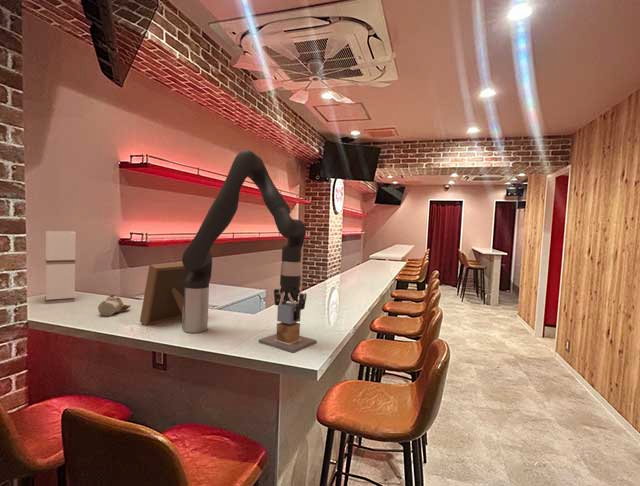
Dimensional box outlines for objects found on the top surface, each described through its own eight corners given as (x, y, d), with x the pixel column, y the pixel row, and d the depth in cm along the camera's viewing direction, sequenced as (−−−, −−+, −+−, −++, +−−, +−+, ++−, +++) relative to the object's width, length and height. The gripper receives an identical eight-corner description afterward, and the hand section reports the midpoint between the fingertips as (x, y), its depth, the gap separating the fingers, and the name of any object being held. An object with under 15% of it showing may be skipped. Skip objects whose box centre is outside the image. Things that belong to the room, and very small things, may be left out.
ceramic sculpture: (91, 296, 148) (109, 292, 163) (89, 317, 148) (108, 310, 163) (116, 297, 149) (133, 293, 164) (115, 317, 149) (131, 311, 164)
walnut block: (276, 339, 127) (276, 323, 126) (286, 336, 132) (287, 320, 131) (288, 343, 123) (289, 326, 123) (299, 339, 128) (299, 323, 128)
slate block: (277, 321, 126) (277, 304, 126) (287, 317, 131) (288, 302, 131) (289, 324, 123) (290, 307, 123) (300, 320, 128) (300, 304, 128)
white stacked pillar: (72, 297, 183) (73, 231, 181) (74, 301, 175) (75, 232, 173) (45, 299, 175) (46, 231, 174) (45, 304, 167) (46, 231, 166)
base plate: (258, 342, 126) (258, 339, 126) (283, 333, 138) (283, 331, 138) (292, 353, 117) (292, 349, 117) (316, 342, 129) (316, 339, 129)
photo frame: (139, 324, 142) (141, 263, 141) (184, 314, 161) (186, 260, 160) (162, 330, 134) (163, 267, 133) (206, 319, 153) (208, 263, 152)
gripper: (312, 275, 125) (310, 320, 126) (282, 270, 134) (280, 313, 134) (299, 276, 119) (297, 325, 120) (269, 272, 127) (267, 317, 128)
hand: (288, 319), depth 127 cm, fingers closed on slate block, 6 cm apart
